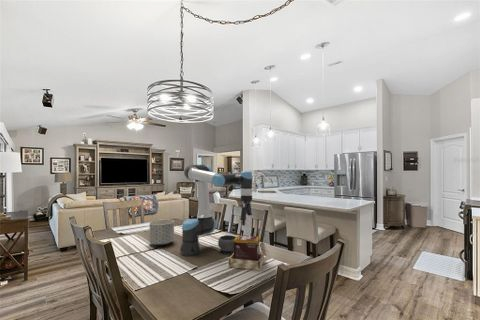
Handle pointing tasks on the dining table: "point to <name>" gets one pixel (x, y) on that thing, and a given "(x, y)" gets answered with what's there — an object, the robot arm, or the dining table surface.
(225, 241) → the bowl
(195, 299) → the dining table surface
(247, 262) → the crate
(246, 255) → the supplement box
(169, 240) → the planter
